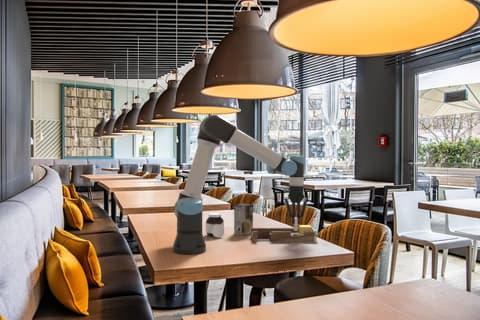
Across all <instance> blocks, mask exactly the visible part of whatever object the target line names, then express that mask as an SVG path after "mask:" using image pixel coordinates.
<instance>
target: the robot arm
mask: <svg viewBox="0 0 480 320" xmlns="http://www.w3.org/2000/svg"><path fill="white" fill-rule="evenodd" d="M198 129H199V131H198V134H197V137H196V140H197V143H198V144H197V148H196V151H195V154H194V156H193V157H194V158H193V160H192V164H191V166H190V170H189V173H188V176H187V179H186V183H185V186H184V189H183V190H181V191H180V192H179V195H178V198H177V200H176V202H175V204H174V206H173V213H174V215H175V217H176V235H175V238H174V241H173V244H172V252H174V254H175V253H176V254H181V255H193V254H194V255H195V254H196V255H197V254H202V253H205V252H206V250H207V244H206V242H205V241H206V240H205V238H204V235H203V208H204V206H203V199H204V198H203V197H202V192H203V188H204V186H205V182H206V179H207V177H208V174H209V170H210V166H211V163H212V161H213V158H214V153H215V150H216V149H217V148H218V147H220V146H221V142H222V143H225V144H226V145H228V144H230V145H232V146H233V147H235V148H237V149H239V150H240V151H242V152H244V153H245V154H248V155H250V156H251V157H253V158H254V159H256V160H258V161H259V162H261V163H263V164H264V165H266V171H267V173H268V174H270V175H271V174H272V175H283V176H286V177H289V180H288V181H289V182H288V184H289V185H288V195H287V196H286V197H284V198H283V201H284V203H285V208H286V211H287V215H288V217H289V218H291V224H292V225H293V228H294V231H298V228H299V225H300V224H301V223H300V221H301V220H300V218H303V217H304V215H305V210H306V208H307V207H306V206H307V203H309V198H307V197H305V194H304V190H305V189H304V181H305V179H304V176H305V175H304V173H305V157H304V156H303V155H290V156H289V158H286V157H284V156H283V155H282V154H280V153H278V152H277V151H274V150H273V149H272V148H270V147H268V146H267V145H264V144H263V143H261V142H260V141H258V140H257V139H256V138H253V137H251V136H249V135H248V134H246V133H245V132H243V131H241V130H240V129H239V128H238V126H237V125H235V124H234V123H233V122H231V121H230V120H228V119H227V118H225V117H224V116H222V115H219V114H211V115H209V116H207V117H204V119H202V120H201V122H200V124H199V128H198ZM289 201H290V202H291V208H290V202H289ZM302 201H303V202H302ZM301 202H302V205H301ZM301 206H302V207H301Z"/></svg>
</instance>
